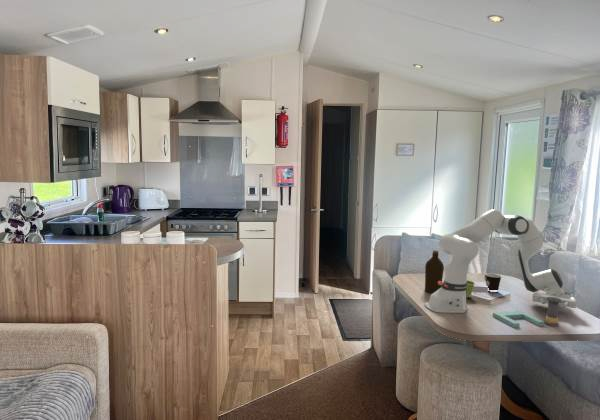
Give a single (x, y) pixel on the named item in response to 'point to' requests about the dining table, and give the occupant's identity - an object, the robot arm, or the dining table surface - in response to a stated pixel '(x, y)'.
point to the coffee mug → (492, 281)
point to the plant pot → (469, 288)
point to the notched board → (510, 315)
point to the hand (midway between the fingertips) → (553, 304)
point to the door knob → (552, 311)
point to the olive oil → (433, 273)
